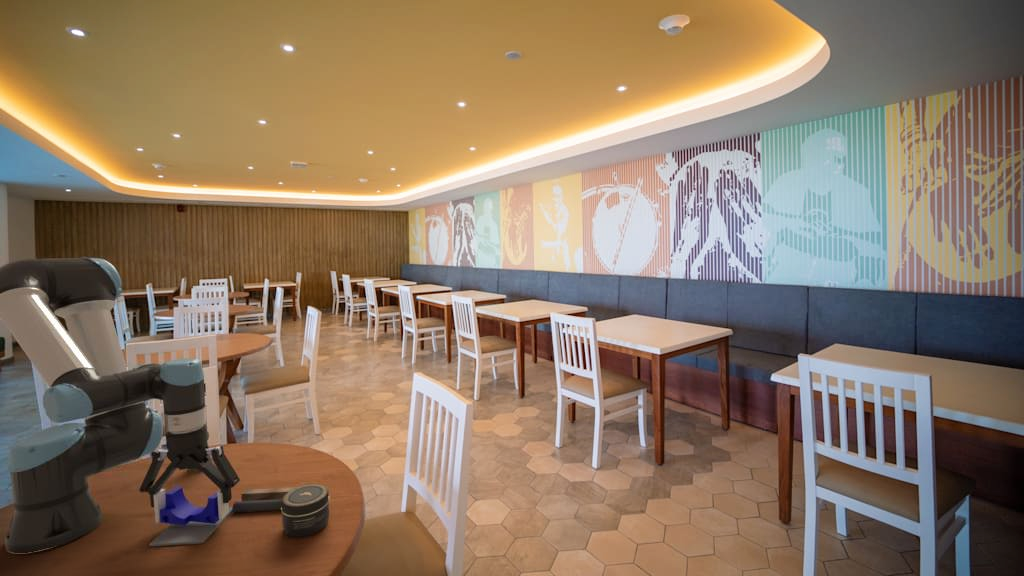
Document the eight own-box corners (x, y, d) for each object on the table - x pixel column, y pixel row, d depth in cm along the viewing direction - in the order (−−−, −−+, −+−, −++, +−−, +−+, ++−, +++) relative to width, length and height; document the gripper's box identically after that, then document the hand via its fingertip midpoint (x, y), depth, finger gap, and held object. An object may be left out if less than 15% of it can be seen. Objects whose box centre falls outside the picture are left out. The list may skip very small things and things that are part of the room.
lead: (236, 512, 109) (231, 512, 106) (238, 501, 110) (233, 501, 107) (295, 509, 110) (291, 509, 108) (296, 498, 111) (293, 498, 109)
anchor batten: (241, 503, 111) (241, 493, 111) (245, 499, 113) (245, 489, 113) (299, 500, 112) (298, 490, 112) (302, 496, 114) (301, 486, 114)
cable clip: (160, 522, 100) (159, 497, 99) (177, 511, 104) (176, 486, 104) (209, 527, 99) (208, 502, 98) (224, 516, 103) (224, 491, 103)
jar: (285, 518, 105) (284, 487, 104) (330, 509, 108) (329, 479, 108) (279, 544, 95) (277, 510, 95) (329, 534, 99) (328, 501, 98)
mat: (149, 546, 95) (148, 544, 95) (187, 511, 108) (187, 509, 108) (202, 543, 96) (202, 541, 96) (235, 508, 109) (234, 506, 109)
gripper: (113, 437, 95) (122, 531, 97) (235, 432, 97) (241, 524, 99) (140, 423, 102) (147, 511, 104) (252, 419, 104) (257, 504, 106)
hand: (193, 517), depth 101 cm, fingers closed on cable clip, 13 cm apart
